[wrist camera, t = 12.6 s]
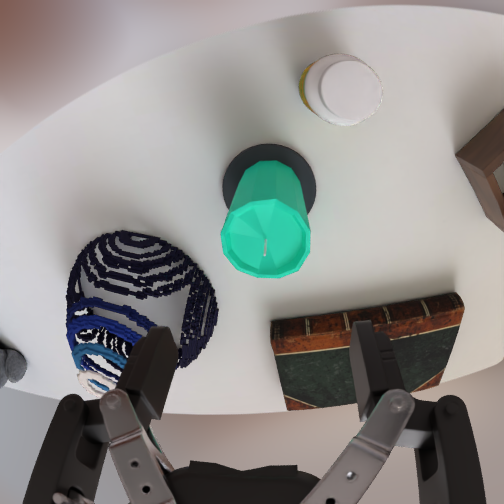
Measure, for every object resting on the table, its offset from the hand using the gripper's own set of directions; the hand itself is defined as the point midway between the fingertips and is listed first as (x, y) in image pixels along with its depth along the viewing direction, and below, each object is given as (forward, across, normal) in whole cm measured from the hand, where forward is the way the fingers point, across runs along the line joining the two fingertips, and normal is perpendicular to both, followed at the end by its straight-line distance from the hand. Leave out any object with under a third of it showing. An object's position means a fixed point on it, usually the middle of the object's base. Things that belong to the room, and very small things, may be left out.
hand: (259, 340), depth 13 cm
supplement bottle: (+20, -6, -9) cm, 23 cm away
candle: (+19, 0, 0) cm, 19 cm away
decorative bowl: (+20, +18, +14) cm, 30 cm away
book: (+20, -12, +24) cm, 33 cm away
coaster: (+20, 0, 0) cm, 20 cm away
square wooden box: (+20, -26, -2) cm, 33 cm away
